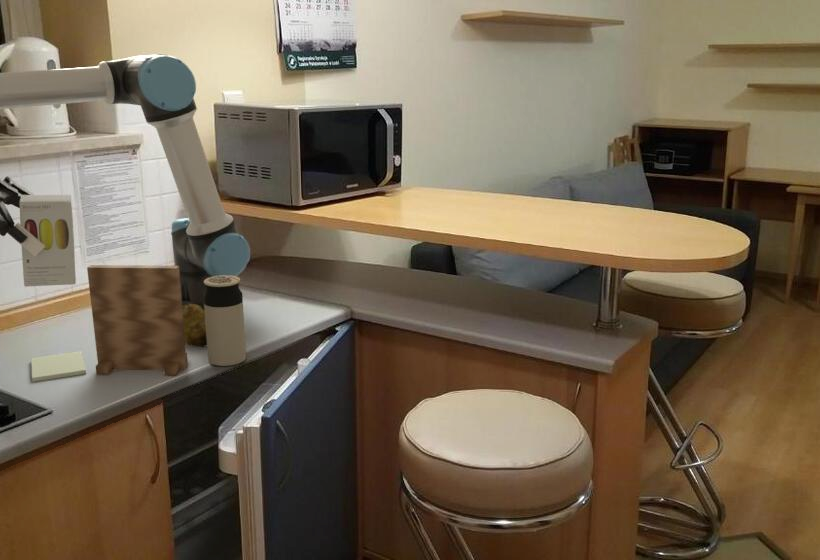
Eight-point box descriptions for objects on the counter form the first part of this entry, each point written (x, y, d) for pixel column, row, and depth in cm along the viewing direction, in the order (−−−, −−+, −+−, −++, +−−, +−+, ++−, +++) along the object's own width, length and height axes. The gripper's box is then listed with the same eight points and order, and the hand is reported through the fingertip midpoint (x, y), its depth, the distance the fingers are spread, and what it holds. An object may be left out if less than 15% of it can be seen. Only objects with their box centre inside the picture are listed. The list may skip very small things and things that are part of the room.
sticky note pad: (82, 354, 173) (81, 350, 173) (86, 373, 162) (85, 369, 162) (31, 361, 169) (31, 358, 168) (32, 381, 158) (32, 377, 158)
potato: (176, 352, 174) (173, 318, 172) (176, 333, 186) (173, 301, 184) (215, 349, 176) (212, 315, 174) (212, 330, 188) (210, 298, 186)
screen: (191, 361, 169) (183, 262, 163) (179, 376, 161) (171, 272, 155) (108, 360, 169) (97, 261, 163) (92, 375, 162) (80, 271, 156)
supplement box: (23, 287, 153) (16, 201, 149) (25, 276, 161) (18, 194, 157) (77, 284, 156) (71, 200, 152) (76, 273, 165) (71, 193, 161)
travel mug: (215, 369, 164) (209, 287, 160) (203, 358, 171) (197, 278, 166) (251, 362, 169) (247, 281, 164) (238, 351, 175) (233, 272, 170)
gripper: (-14, 171, 165) (68, 243, 169) (-84, 191, 142) (13, 273, 146) (8, 146, 164) (90, 218, 168) (-59, 161, 141) (38, 245, 145)
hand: (54, 244), depth 157 cm, fingers closed on supplement box, 12 cm apart
